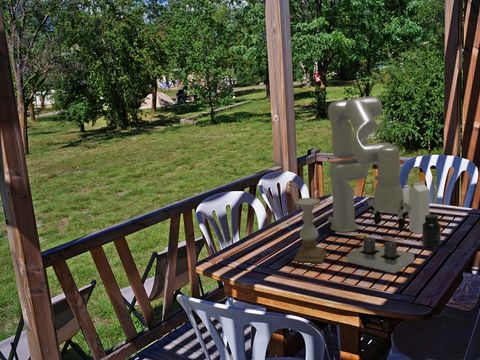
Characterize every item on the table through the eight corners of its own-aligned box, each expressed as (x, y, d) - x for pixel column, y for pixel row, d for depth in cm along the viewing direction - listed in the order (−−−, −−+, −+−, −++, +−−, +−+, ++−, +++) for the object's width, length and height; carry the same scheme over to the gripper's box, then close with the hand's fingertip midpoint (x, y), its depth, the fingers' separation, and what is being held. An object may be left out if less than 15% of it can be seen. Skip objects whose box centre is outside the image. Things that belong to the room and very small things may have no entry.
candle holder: (321, 265, 198) (318, 204, 193) (293, 264, 202) (289, 204, 197) (327, 255, 208) (324, 197, 203) (300, 254, 212) (296, 197, 207)
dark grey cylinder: (382, 264, 194) (381, 244, 193) (388, 261, 197) (388, 240, 196) (393, 267, 191) (392, 246, 190) (399, 263, 194) (398, 243, 193)
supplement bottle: (442, 247, 206) (441, 218, 204) (423, 247, 208) (423, 218, 206) (439, 241, 213) (439, 213, 211) (421, 242, 215) (421, 213, 212)
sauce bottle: (398, 218, 248) (397, 181, 244) (399, 214, 255) (398, 178, 251) (415, 219, 245) (415, 181, 241) (416, 214, 252) (415, 178, 248)
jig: (347, 261, 200) (346, 241, 198) (367, 251, 209) (366, 232, 208) (394, 273, 186) (393, 252, 184) (413, 261, 195) (413, 240, 193)
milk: (409, 231, 229) (408, 182, 225) (419, 228, 232) (418, 179, 227) (419, 234, 224) (418, 184, 219) (430, 231, 226) (429, 181, 222)
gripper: (362, 180, 192) (363, 224, 195) (405, 185, 179) (405, 233, 183) (373, 176, 197) (374, 219, 200) (416, 181, 184) (416, 227, 188)
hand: (389, 226), depth 192 cm, fingers open, 9 cm apart
